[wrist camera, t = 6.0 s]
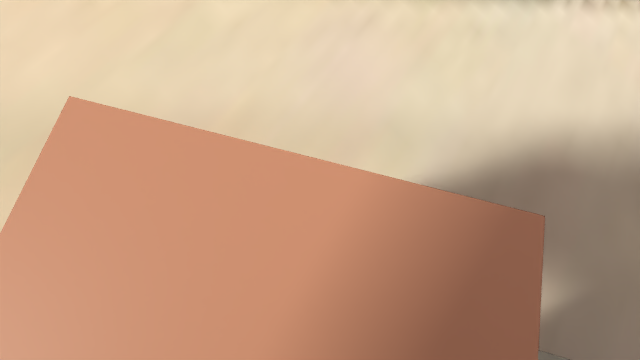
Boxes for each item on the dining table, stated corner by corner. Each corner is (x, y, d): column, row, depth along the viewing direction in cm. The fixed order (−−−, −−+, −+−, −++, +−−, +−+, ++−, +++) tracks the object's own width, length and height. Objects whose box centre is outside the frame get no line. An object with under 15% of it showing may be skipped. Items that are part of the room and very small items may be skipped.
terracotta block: (323, 386, 14) (507, 986, 2) (203, 357, 14) (-290, 813, 2) (348, 264, 16) (544, 215, 4) (240, 237, 16) (69, 95, 4)
